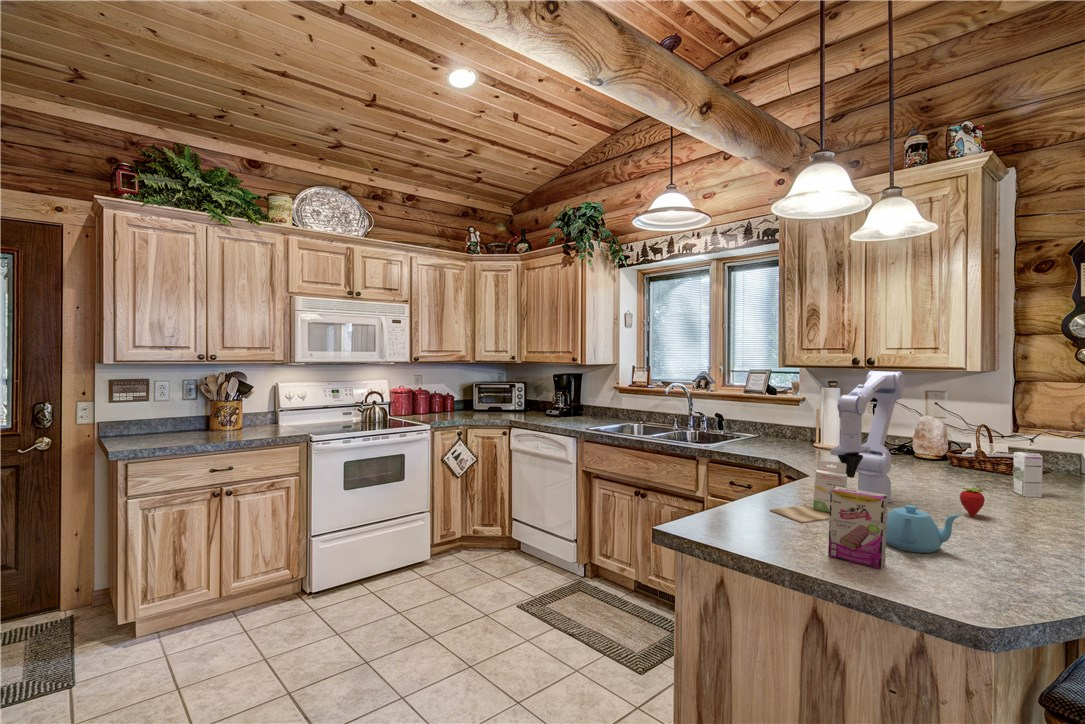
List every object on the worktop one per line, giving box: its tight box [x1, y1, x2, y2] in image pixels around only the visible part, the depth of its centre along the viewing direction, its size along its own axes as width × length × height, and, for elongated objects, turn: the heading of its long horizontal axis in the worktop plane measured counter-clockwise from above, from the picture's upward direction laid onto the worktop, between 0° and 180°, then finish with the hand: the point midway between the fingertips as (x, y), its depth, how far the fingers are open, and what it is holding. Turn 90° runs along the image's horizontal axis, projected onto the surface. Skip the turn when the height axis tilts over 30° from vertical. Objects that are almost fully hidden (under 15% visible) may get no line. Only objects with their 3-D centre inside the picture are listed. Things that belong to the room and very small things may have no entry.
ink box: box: [813, 459, 848, 513], centre depth 164 cm, size 9×5×15 cm, turn 62°
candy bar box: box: [827, 486, 889, 570], centre depth 125 cm, size 11×5×16 cm, turn 48°
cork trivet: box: [769, 504, 830, 524], centre depth 160 cm, size 14×12×1 cm
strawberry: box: [959, 487, 986, 517], centre depth 160 cm, size 6×8×10 cm
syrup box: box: [1012, 451, 1044, 498], centre depth 185 cm, size 6×6×14 cm
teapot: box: [886, 504, 961, 554], centre depth 135 cm, size 15×15×10 cm
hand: (849, 476), depth 167 cm, fingers closed
